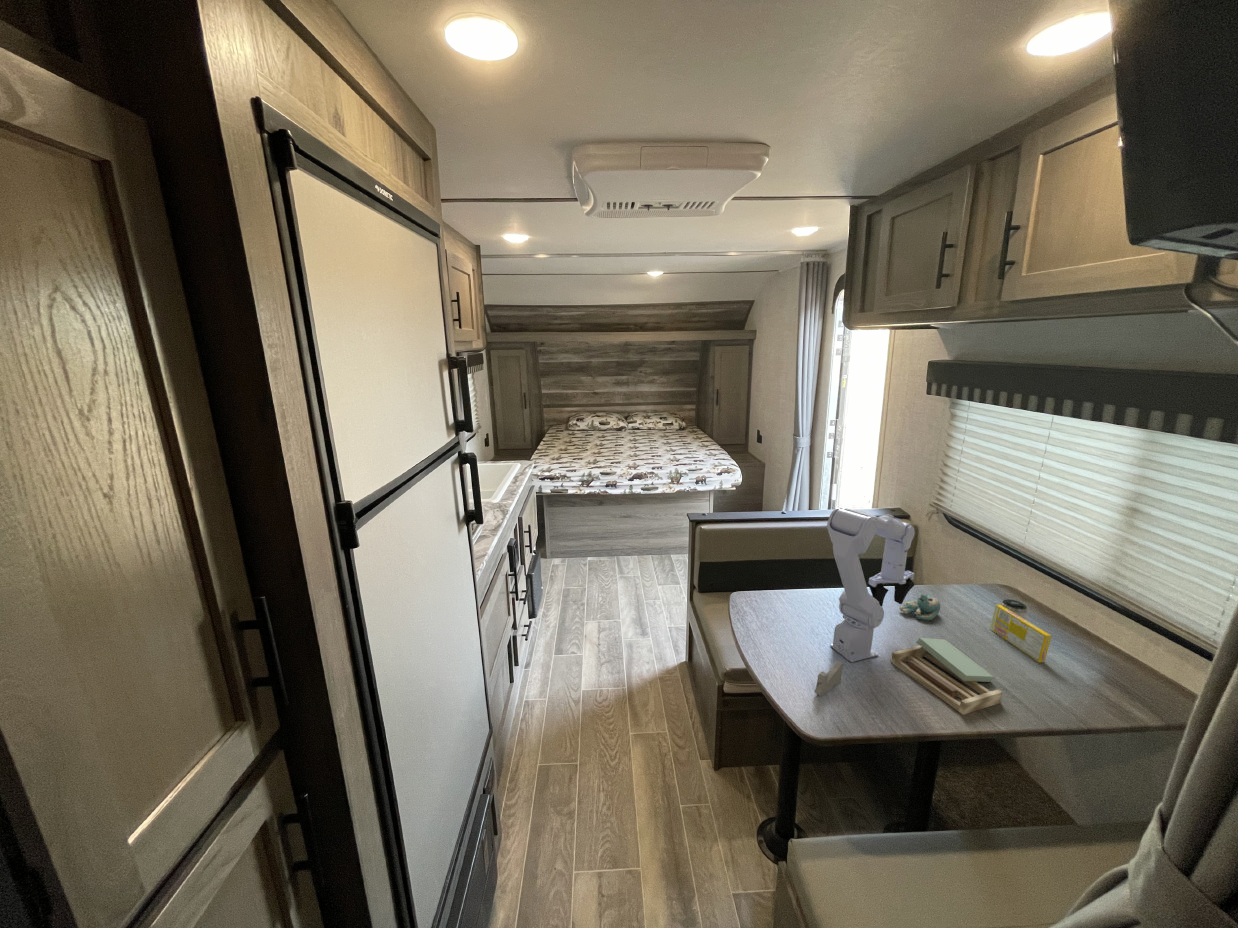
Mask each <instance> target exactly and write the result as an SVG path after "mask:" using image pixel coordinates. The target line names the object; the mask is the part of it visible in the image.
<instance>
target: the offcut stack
mask: <svg viewBox="0 0 1238 928" xmlns="http://www.w3.org/2000/svg"><path fill="white" fill-rule="evenodd" d="M907 666H909V667H910V668H912V669H913V670H914V671H916V672H917V673H919V674H920V675H921V676H923V677H924V678H926V679H927V680H929V681H930V682H931V683H933V684H934V685H936V686H937V687H938V688H940V689H941V690H943V691H944V692H945V693H947V694H948V695H950V696H951V697H952V698H954V699H955V698H957V697H958V696H957V689H955V688H954V687H952V686H951V685H949V684H948V683H947V682H945V681H944V680H942V679H941V678H939V677H938V676H936V675H935V674H933V673H932V672H931V671H929V670H928V669H926V668H925V667H923V666H922V665H919V664H918V663H916V662H915V661H912V660H910V661H909V662H908V665H907Z"/></svg>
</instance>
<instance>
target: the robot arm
mask: <svg viewBox="0 0 1238 928" xmlns="http://www.w3.org/2000/svg"><path fill="white" fill-rule="evenodd" d="M826 530H827V532H828V536H829V539H830V541H831V543H832V551H833V557H834V560H835V563H836V566H837V567H836V568H837V569H838V573H839V577H840V579H841V583H842V585H843V589H844V590H843V591H842V592H841V594H840V595H839V597H838V601H839V605H838V608H839V613H840V614H842V619H844V620H843V621H842V622H840V623H838V624H836V626H834V631H833V638H832V639H833V640H832V643H831V644H830V647H831V648H833V649H834V650H835V651H836V652H837V653H839V654H840V655H841V656H842V657H844V658H845V659H847V661H849V662H850V663H854V662H857V661H861V660H862V661H863V660H864V659H865V660H866V659H870V658H873V657H878V656H879V653H878V652H877V651H875V650H874V649H873V648H872V646H873V637H874V629H877V628H878V627H879V626H880V625H881V624H882V622H883V620H884V616H885V611H884V608H883V605H884V600H885V597H886V595H887V593H888V592H889V589H888V588H886V587H885V586H884V584H894V594H893V601H894V602H895V603H897V604H898V605H902V604H904V602H905V599H906V597H907V595H908V594H909V592H910V591H911V589H913V587H915V582H914V581H913V580H915V579H914V578H915V573H914V572H912V571H910V570H906V565H907V558H908V552H909V551H908V550H909V549H910V548H911V545H912V541H913V539H914V537H915V528H914V526H913V525H912V524H911V523H909V522H904V521H902V520H901V519H900V518H897V517H894V515H891V514H887V513H886V515H880V516H876V515H874V514H871V513H867V512H864V511H860V510H857V509H856V510H855V509H850V508H842V507H836V508H835V509H833V510H832V512H830V514H829V516H828V521H827V523H826ZM875 536H879V537H882V538H883V539H885V540H884V547H883V554H882V555H883V556H882V563H881V570H880V572H879V573H877V574H875V575H874V576H871V577H869V578H868V581H867V582H866V578H865V576H864V571H863V569H862V563H861V562H860V561H861V560H860V558H859V557H860V556H859V555H861V554H865V553H866V552H867V550H868V549H869V547H870V544H872V540H873V539H874V537H875ZM867 586H868V587H869V590H870V592H871V594H870V593H869V590H868V587H867Z"/></svg>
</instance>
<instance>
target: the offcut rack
mask: <svg viewBox="0 0 1238 928" xmlns="http://www.w3.org/2000/svg"><path fill="white" fill-rule="evenodd" d="M924 657H925V658H926V659H927V660H926V659H924ZM910 660H912V661H915V662H916V663H918V664H919V665H922V666H923V667H925V668H926V669H928V670H929V671H931V672H932V673H933V674H935V675H936V676H938V677H939V678H941V679H942V680H944V681H945V682H947V683H948V684H949V685H951V686H952V687H954V688H955V689H957V696H956V697H958V698H959V699H960V701H958V700H956V699H955V698H952V697H951V696H950V695H948V694H947V693H945V692H944V691H943V690H941V689H940V688H938V687H937V686H936V685H934V684H933V683H931V682H930V681H929V680H927V679H926V678H924V677H923V676H921V675H920V674H919V673H917V672H916V671H914V670H913V669H912V668H910V667H909V666H908V665H907V663H909V661H910ZM928 660H929V661H930V662H929V661H928ZM905 662H907V663H905ZM931 662H932V663H933V664H932V663H931ZM890 663H891V664H893V665H894V666H896V667H897V668H898V669H900V670H901V671H903V672H904V673H905V674H907V675H908V676H909V677H910V678H912V679H913V680H915V681H916V682H918V684H920V685H922V686H923V687H924V688H926V689H927V690H928V691H930V692H931V693H933V694H934V695H935V696H937V697H938V698H939V699H941V700H942V701H944V702H945V703H946V704H948V705H949V706H951V707H952V708H953V709H955V710H956V711H957V712H959V713H960V714H961V715H962V716H963V715H966V714H969V713H972V712H976V711H979V710H982V709H985V708H989V707H992V706H995V705H999V704H1001V701H1002V697H1003V690H1000V689H999V688H998V689H995V690H989V689H988V688H986V687H984V686H983V685H981V683H978V681H963V680H962V679H961V678H959V677H958V676H957V675H956V674H954V673H953V672H952V671H951V670H950V669H948V668H947V667H946V666H945V665H943V664H942V663H941V662H940V661H939V660H937V659H936V658H935V657H934V656H932V655H931V654H930V653H929V652H928V651H926V650H925V649H924V648H923V647H921V646H920V645H919V644H918V645H917V646H912V647H907V648H904V649H899V650H895V651H892V652H891V658H890ZM934 664H935V665H937V666H938V667H939V668H941V669H943V670H944V671H946V672H947V673H948V674H949V675H952V676H953V677H955V678H956V679H958V680H959V681H961V682H962V683H963V684H965V685H966V686H968V687H970V688H971V689H973V690H974V691H975V692H977V693H979V694H977V693H975V692H974V691H972V690H971V689H969V688H968V687H966V686H965V685H963V684H962V683H960V682H958V681H957V680H956V679H954V678H952V676H949V675H948V674H947V673H945V672H944V671H942V670H941V669H939V668H938V667H937V666H935V665H934Z"/></svg>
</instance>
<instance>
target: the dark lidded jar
mask: <svg viewBox="0 0 1238 928" xmlns="http://www.w3.org/2000/svg"><path fill="white" fill-rule="evenodd" d="M1000 605H1002V606H1003V607H1005V608H1007V609H1008V610H1010V611H1012V612H1013V613H1015V614H1017V615H1018V616H1020V617H1022V618H1023V619H1025V620H1026V621H1027V614H1028V611H1029V609H1028V606H1027V605H1025V604H1024V603H1023V602H1021V601H1018V600H1015V599H1008V598H1007V599H1003V600H1002V601H1000Z"/></svg>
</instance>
